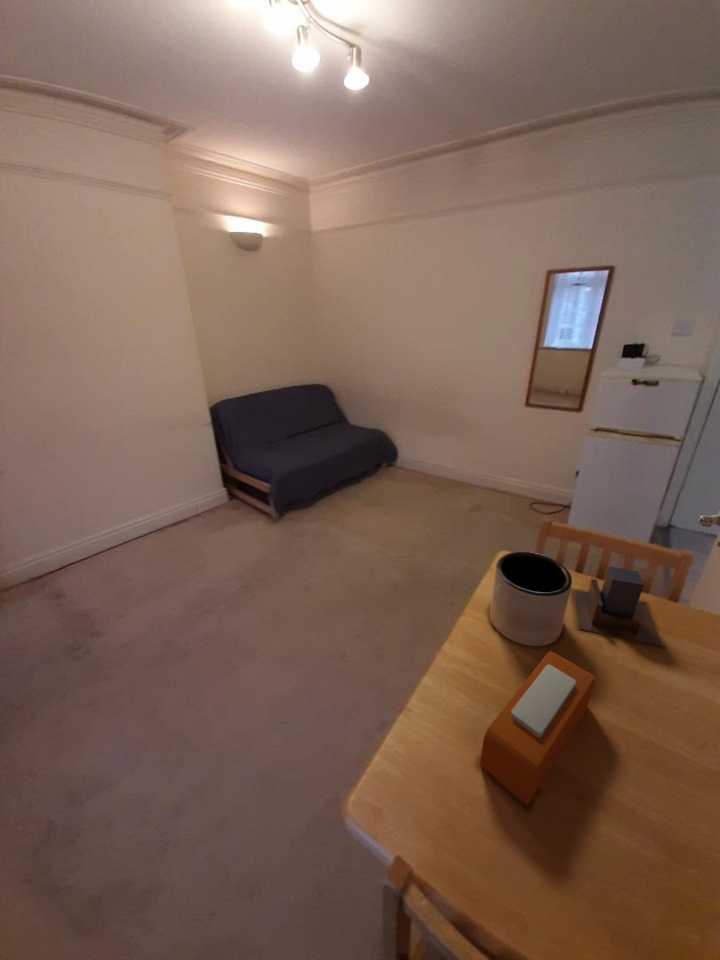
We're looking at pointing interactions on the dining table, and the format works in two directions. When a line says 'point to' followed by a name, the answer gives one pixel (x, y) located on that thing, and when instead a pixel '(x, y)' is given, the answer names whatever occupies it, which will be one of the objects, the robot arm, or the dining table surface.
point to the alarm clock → (536, 725)
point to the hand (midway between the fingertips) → (709, 531)
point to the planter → (530, 598)
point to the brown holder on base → (613, 618)
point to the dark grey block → (621, 592)
